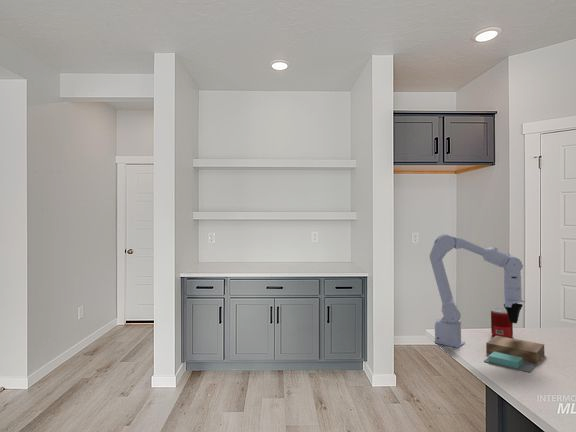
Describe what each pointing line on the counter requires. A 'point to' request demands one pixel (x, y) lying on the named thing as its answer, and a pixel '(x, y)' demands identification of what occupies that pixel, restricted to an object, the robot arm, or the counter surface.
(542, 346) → the board
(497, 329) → the canned food
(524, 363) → the mat
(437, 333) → the robot arm
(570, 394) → the counter surface
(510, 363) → the teal rectangular block
